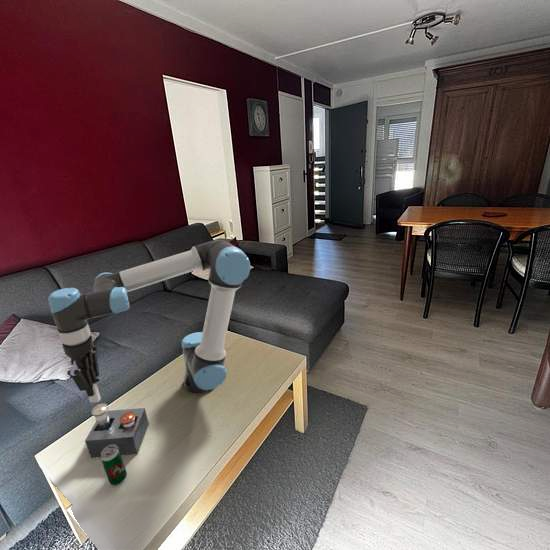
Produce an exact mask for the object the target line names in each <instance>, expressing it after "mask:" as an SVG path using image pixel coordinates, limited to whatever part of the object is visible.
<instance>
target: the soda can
mask: <svg viewBox="0 0 550 550" xmlns="http://www.w3.org/2000/svg"><path fill="white" fill-rule="evenodd" d="M100 461H101V463H102V466H103V467H102V468H103V469H104V472H105V475H106V478H107V481H108V483H109V485H111V486H117V485H119V484H121V483H123V482H124V480H125V479H126V477H127V475H128V472H127V468H126V466H125V462H124V459H123V456H122V455H121V452H120V449H119V447H118V446H116V445H115V444H111V445H108V446H107V447H105V448H104V449H103V450H102V452H101V457H100Z"/></svg>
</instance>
